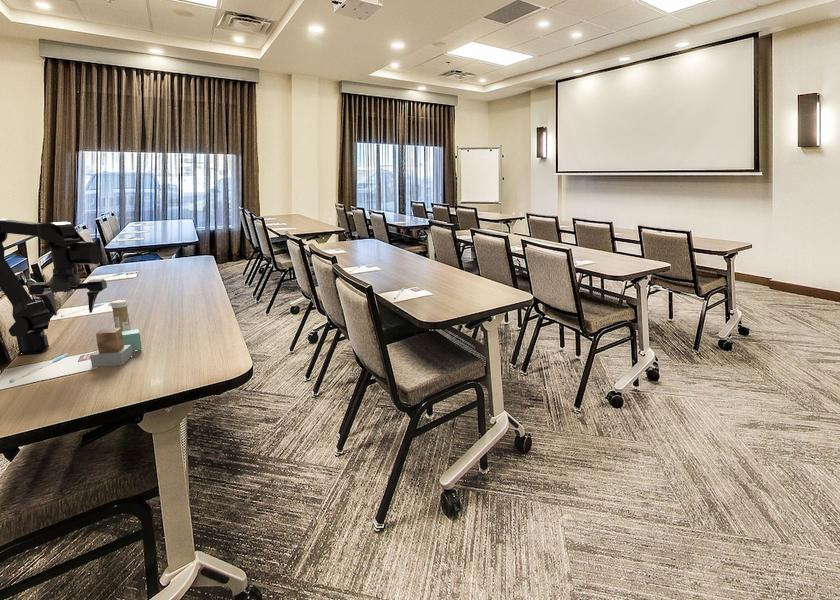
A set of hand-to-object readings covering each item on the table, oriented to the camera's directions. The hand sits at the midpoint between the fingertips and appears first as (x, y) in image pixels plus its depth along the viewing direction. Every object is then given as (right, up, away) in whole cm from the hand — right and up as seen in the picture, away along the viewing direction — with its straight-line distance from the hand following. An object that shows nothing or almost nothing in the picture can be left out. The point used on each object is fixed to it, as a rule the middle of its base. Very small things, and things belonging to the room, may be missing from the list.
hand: (73, 313), depth 146 cm
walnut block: (+16, -11, -6) cm, 20 cm away
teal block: (+15, -12, +5) cm, 20 cm away
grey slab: (+16, -14, -5) cm, 22 cm away
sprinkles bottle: (+6, -9, +16) cm, 20 cm away
